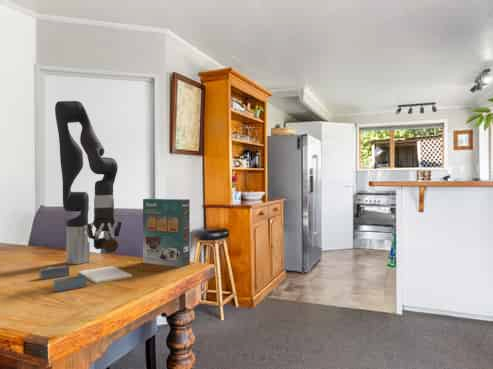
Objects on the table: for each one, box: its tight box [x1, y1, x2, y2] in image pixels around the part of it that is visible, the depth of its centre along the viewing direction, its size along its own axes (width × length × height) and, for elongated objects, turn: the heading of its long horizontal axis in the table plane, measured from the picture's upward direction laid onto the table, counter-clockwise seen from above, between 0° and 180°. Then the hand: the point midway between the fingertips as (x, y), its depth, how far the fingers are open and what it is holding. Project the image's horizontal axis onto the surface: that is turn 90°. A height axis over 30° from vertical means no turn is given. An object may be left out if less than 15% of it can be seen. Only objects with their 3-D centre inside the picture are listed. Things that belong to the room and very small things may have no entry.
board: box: [78, 265, 133, 284], centre depth 145 cm, size 14×20×1 cm
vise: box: [38, 265, 87, 293], centre depth 137 cm, size 10×30×4 cm, turn 42°
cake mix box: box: [142, 198, 191, 268], centre depth 166 cm, size 22×6×30 cm, turn 66°
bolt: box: [98, 237, 119, 254], centre depth 145 cm, size 6×5×15 cm
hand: (104, 247), depth 145 cm, fingers closed on bolt, 5 cm apart
